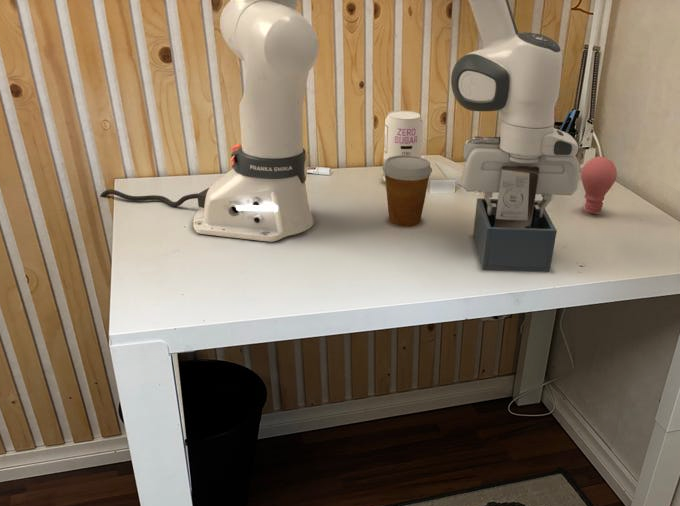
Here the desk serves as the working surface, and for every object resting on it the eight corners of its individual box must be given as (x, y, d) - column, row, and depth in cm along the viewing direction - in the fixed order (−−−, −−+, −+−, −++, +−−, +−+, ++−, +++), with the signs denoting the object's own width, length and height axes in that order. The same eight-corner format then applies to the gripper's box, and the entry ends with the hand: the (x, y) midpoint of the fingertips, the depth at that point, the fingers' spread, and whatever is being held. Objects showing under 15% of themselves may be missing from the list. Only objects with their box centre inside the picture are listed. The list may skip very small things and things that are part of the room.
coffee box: (525, 261, 131) (538, 173, 123) (489, 256, 132) (500, 168, 123) (528, 241, 139) (541, 157, 130) (495, 237, 140) (505, 153, 131)
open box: (482, 269, 129) (487, 228, 125) (472, 236, 141) (477, 198, 137) (549, 271, 130) (556, 230, 126) (534, 238, 142) (540, 200, 138)
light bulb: (573, 217, 153) (583, 160, 147) (575, 205, 159) (585, 150, 153) (608, 221, 152) (619, 164, 146) (608, 209, 158) (620, 154, 152)
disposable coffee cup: (371, 219, 146) (372, 160, 139) (405, 208, 152) (407, 151, 145) (404, 234, 140) (407, 173, 134) (438, 223, 146) (442, 163, 140)
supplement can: (403, 174, 170) (406, 108, 162) (426, 184, 165) (431, 116, 157) (375, 180, 166) (377, 112, 158) (398, 191, 161) (401, 121, 153)
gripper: (466, 141, 121) (458, 220, 129) (587, 146, 122) (573, 224, 130) (462, 130, 126) (455, 206, 134) (579, 135, 128) (565, 210, 135)
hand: (514, 215), depth 132 cm, fingers closed on coffee box, 7 cm apart
